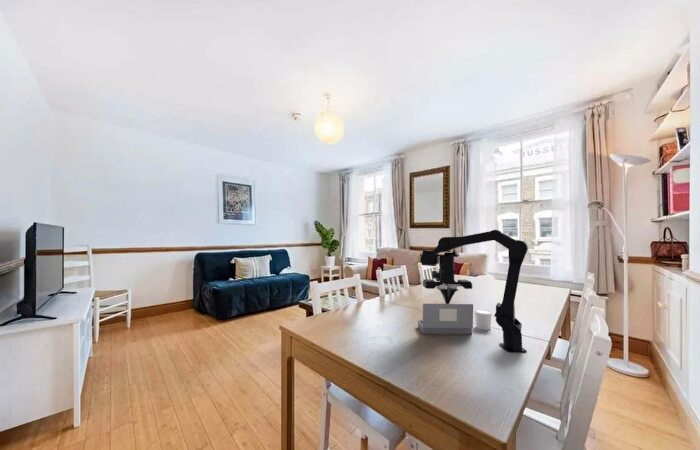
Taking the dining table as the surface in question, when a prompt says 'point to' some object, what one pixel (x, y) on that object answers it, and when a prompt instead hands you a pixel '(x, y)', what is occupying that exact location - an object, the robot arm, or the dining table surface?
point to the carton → (443, 330)
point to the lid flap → (447, 315)
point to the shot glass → (483, 319)
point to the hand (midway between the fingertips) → (447, 304)
